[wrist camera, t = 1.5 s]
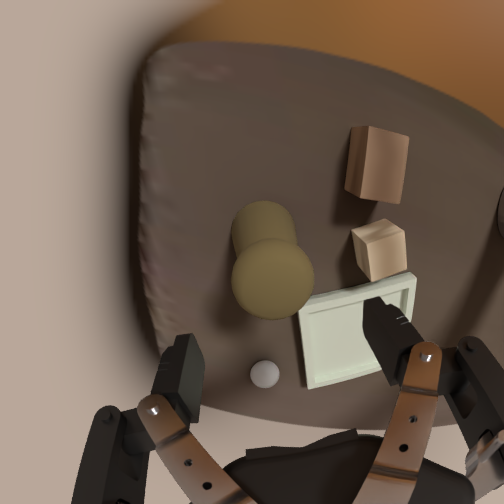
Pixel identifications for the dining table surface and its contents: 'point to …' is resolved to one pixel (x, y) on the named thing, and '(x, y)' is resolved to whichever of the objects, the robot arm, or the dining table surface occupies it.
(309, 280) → the cork
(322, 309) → the tray
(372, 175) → the walnut block
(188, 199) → the dining table surface
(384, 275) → the maple block
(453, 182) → the dining table surface
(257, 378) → the grey ball
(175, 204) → the dining table surface
